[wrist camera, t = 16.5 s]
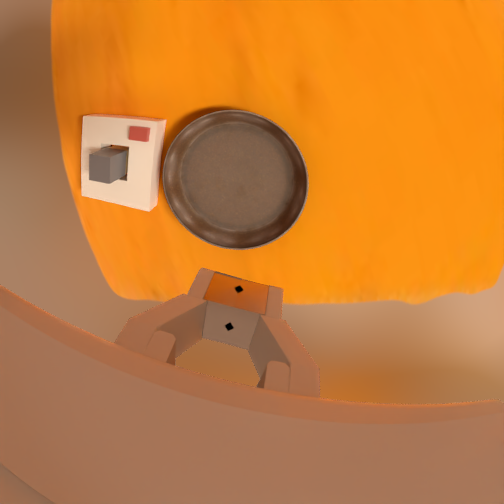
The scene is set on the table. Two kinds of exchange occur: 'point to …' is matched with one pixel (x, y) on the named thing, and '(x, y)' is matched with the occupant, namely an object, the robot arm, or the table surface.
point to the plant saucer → (235, 179)
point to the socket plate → (139, 160)
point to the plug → (108, 164)
